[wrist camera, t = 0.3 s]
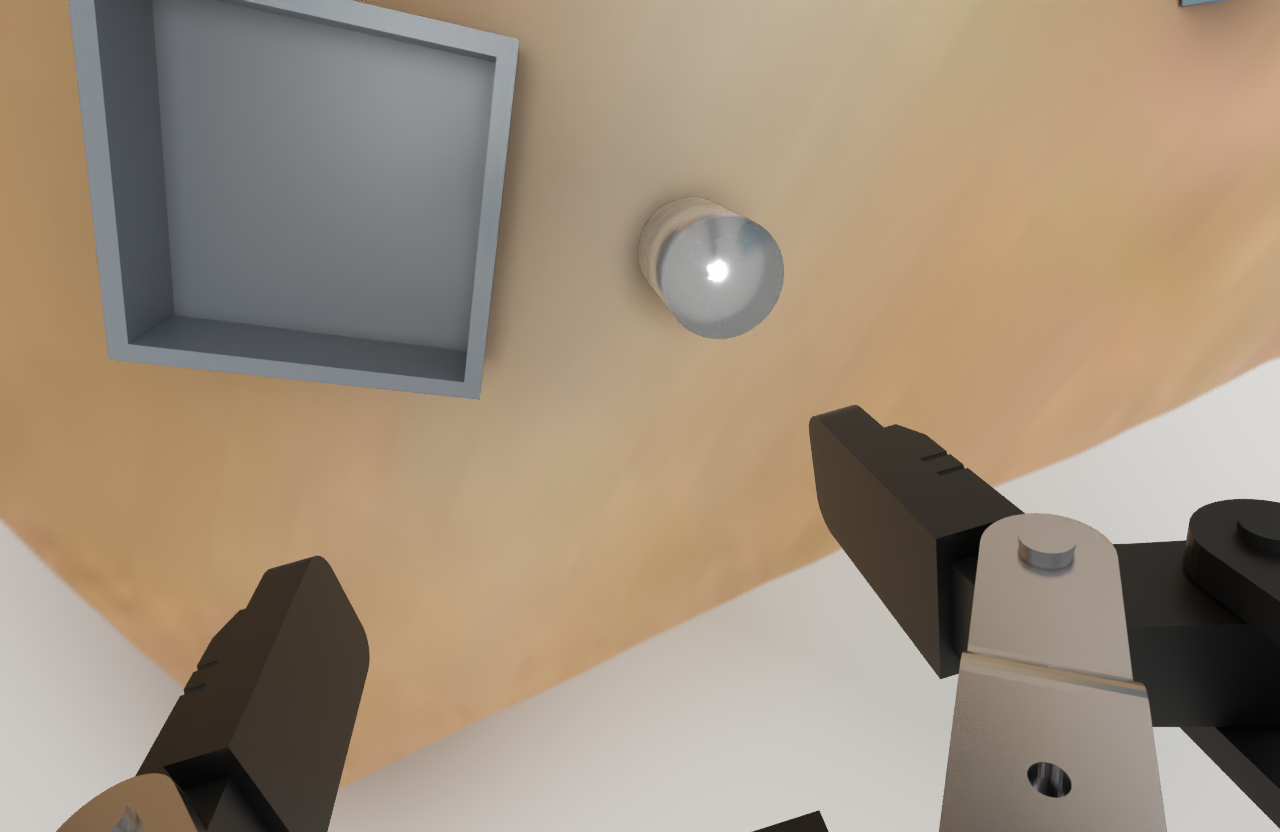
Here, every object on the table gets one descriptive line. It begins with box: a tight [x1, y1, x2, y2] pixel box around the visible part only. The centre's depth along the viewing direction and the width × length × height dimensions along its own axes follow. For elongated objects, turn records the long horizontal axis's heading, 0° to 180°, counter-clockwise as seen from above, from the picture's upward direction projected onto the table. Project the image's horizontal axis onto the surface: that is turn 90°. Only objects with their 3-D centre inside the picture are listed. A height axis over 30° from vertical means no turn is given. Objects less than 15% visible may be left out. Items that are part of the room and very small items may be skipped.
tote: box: [69, 0, 519, 400], centre depth 31 cm, size 16×16×6 cm
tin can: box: [638, 197, 784, 339], centre depth 34 cm, size 6×6×7 cm
